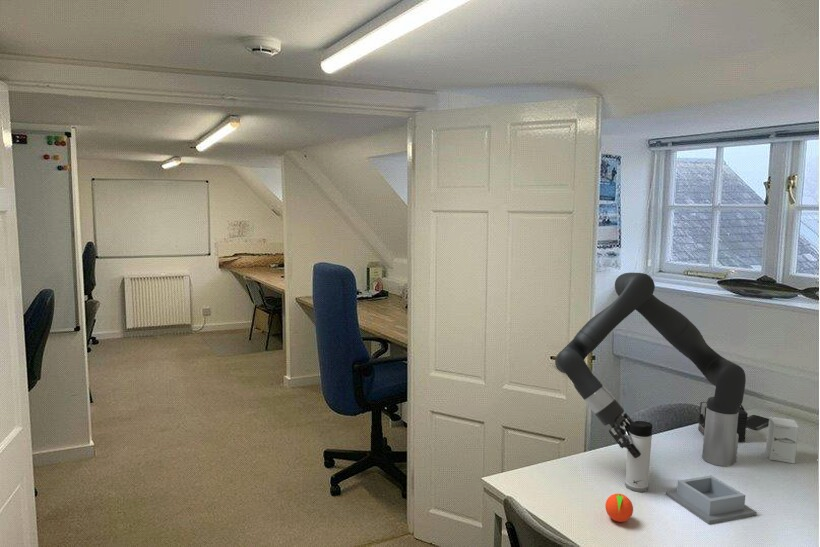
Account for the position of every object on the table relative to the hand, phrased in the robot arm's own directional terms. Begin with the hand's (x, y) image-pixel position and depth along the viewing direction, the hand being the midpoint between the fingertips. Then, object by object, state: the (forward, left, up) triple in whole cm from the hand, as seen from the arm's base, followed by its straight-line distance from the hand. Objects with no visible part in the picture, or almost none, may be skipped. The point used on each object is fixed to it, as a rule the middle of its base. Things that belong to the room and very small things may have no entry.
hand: (641, 451), depth 173 cm
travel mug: (0, 0, -11) cm, 11 cm away
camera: (-55, -24, -12) cm, 61 cm away
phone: (-78, -30, -12) cm, 84 cm away
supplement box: (-60, -4, -11) cm, 61 cm away
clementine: (+17, +14, -11) cm, 25 cm away
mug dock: (-13, +14, -11) cm, 22 cm away
